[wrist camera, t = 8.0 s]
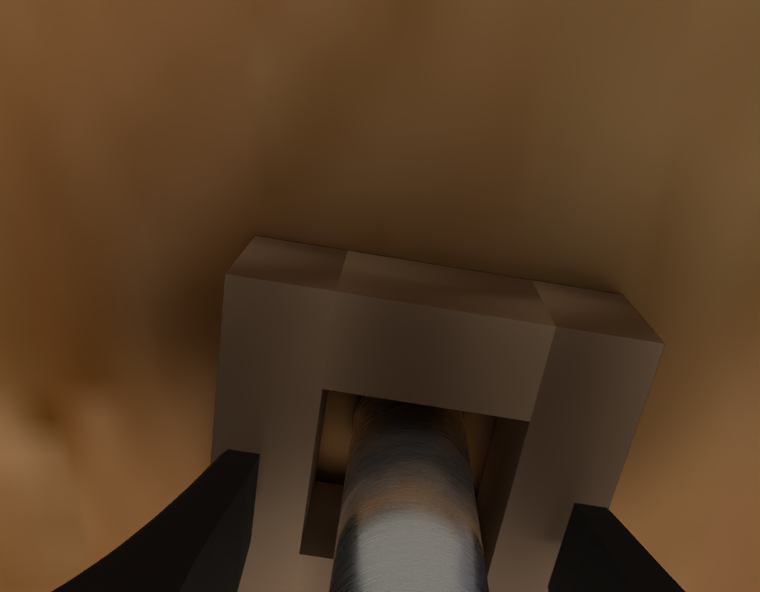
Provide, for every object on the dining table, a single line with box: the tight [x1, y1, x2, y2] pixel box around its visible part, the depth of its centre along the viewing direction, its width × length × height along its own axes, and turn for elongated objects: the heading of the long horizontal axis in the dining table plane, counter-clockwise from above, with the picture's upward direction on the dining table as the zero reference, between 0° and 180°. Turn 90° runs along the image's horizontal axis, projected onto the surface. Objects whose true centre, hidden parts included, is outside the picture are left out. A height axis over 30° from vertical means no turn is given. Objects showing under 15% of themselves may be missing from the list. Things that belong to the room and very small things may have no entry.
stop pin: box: [329, 395, 489, 592], centre depth 12 cm, size 3×3×7 cm
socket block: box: [211, 236, 665, 592], centre depth 14 cm, size 8×8×2 cm
